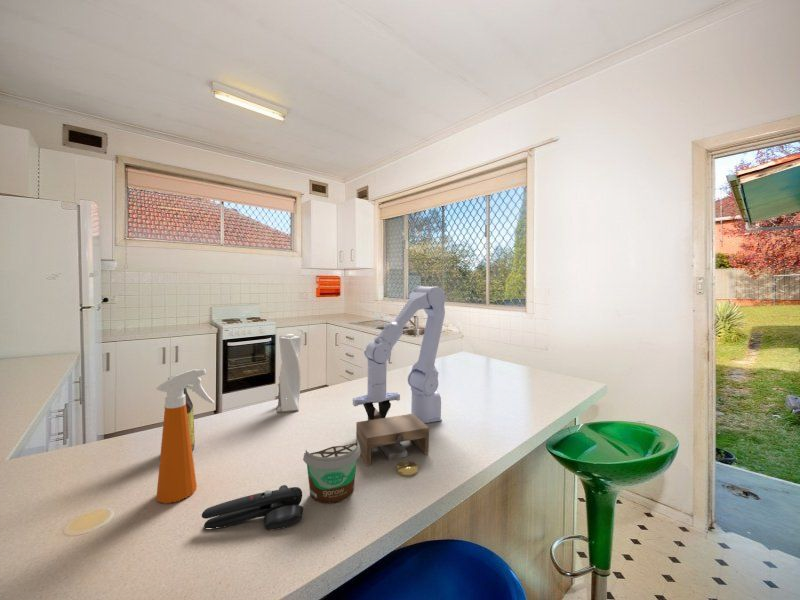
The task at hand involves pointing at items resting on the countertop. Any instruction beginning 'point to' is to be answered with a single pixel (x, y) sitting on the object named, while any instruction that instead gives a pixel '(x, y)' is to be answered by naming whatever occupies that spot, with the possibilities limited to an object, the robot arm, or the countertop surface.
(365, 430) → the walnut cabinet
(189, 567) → the countertop surface
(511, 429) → the countertop surface
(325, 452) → the food container
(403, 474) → the brass token
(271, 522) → the can opener
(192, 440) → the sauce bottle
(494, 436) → the countertop surface
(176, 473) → the spray bottle
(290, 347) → the skyscraper
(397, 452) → the putty knife
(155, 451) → the countertop surface
